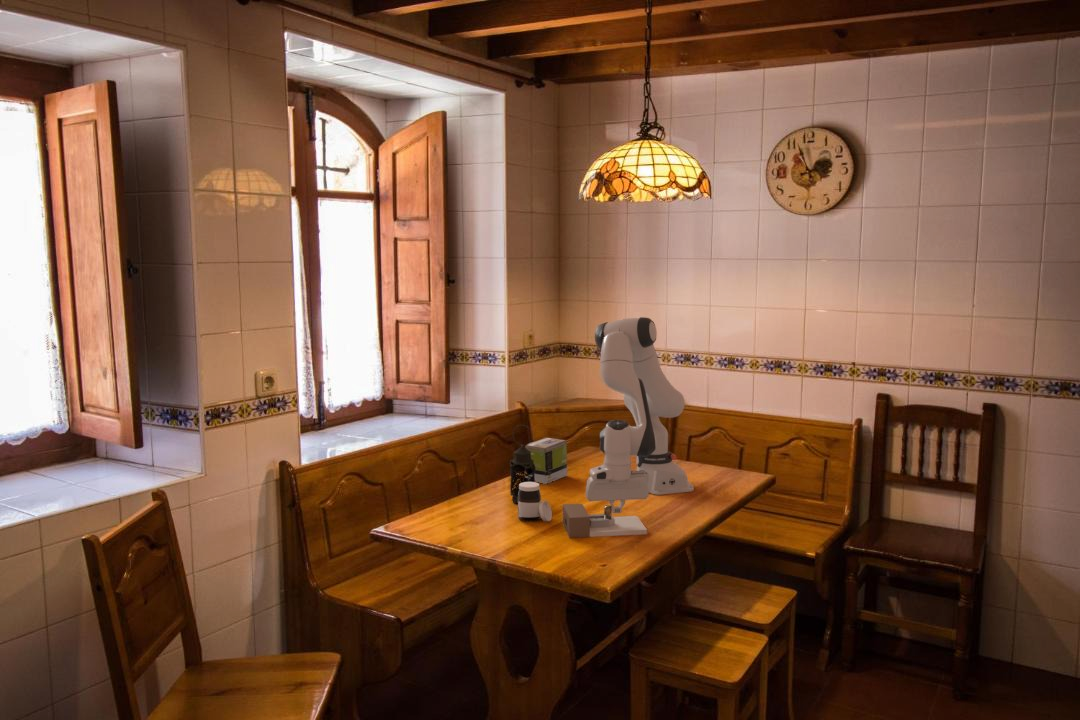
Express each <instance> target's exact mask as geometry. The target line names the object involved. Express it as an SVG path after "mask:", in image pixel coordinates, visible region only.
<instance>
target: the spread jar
mask: <svg viewBox="0 0 1080 720" xmlns="http://www.w3.org/2000/svg"><path fill="white" fill-rule="evenodd" d="M519 489H520V490H519V492H518V504H517V516H518V519H519V520H521V521H523V520H524V521H523V522H535V520H536V521H538V520H540V519H542V521H543V522H546V523H547V522H551V520H552V519H553V512H552V507H551V505H550V503H549V502H548V501H547V500H542V497H541V491H540V483H536V482H523V483H520V484H519Z"/></svg>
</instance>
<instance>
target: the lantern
mask: <svg viewBox="0 0 1080 720" xmlns="http://www.w3.org/2000/svg"><path fill="white" fill-rule="evenodd" d="M519 426H522V427H526V428H528V429H529V431H530V433H531V435H533V431H532V429H531V428H530V427H529V426H527V425H525V424H519V425H516V426H515V427H514V428H513V430H512V439H513V441H514V442H515V443H516V445H519V446H520V447H519V448H518V449H516V450H515V451H514V452H513V454H514V456H513V459H510V460H509V468H510V488H509V491H510V496H511V501H513V504H515V503H518V492H519V490H520V489H519V484H520V483H523V482H535V470H536V468H535V464H534V463H533V461H534V460H532V459H531V451H529V450H527V449H526V448H525V445H528V444H530V443H532V441H533V437H531V439H530V441H529V442H528V443H526V444H523V443H522V444H520V443H518V442H517V441H516V440H515V438H514V432H515V430H516V428H518V427H519ZM526 465H527V466H526ZM526 469H527V470H526ZM526 471H527V473H526ZM532 471H533V472H532ZM529 475H532V477H531V476H529ZM526 476H528V478H526ZM529 478H530V479H529ZM528 479H529V480H528Z"/></svg>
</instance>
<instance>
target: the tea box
mask: <svg viewBox="0 0 1080 720" xmlns="http://www.w3.org/2000/svg"><path fill="white" fill-rule="evenodd" d="M527 444H528V443H527ZM524 445H525V446H524V447H525V448H526V449H527V450H529V451H531V459H532V460H534V461H533V463H534V464H535V468H536V470H535V482H539V484H540V483H543V484H542V485H548V484H550V483H553V482H555V481H557V480H560V479H561V478H565V477H567V476H568V454H567V451H568V449H567V440H565V439H558V438H550V437H543V438H542V439H539V440H535V441H533V442H532V441H531V442H530V443H529V444H528V445H526V444H524ZM526 466H527V465H526ZM525 470H527V469H525ZM532 472H533V471H532ZM526 473H527V471H526V472H525V474H526ZM529 476H531V477H532V475H529ZM525 478H528V476H525ZM529 479H530V478H529ZM529 479H528V480H529ZM552 481H553V482H552ZM547 483H548V484H547Z"/></svg>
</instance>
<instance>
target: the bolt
mask: <svg viewBox="0 0 1080 720" xmlns="http://www.w3.org/2000/svg"><path fill="white" fill-rule="evenodd" d="M603 509H604V510H603V514H604V517H602V518H590V519H609V525H615V519H614V517H615V516H612V515H613V513H612V506H611V505H610V504H609V505H608V504H607V505H604V506H603Z"/></svg>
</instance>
